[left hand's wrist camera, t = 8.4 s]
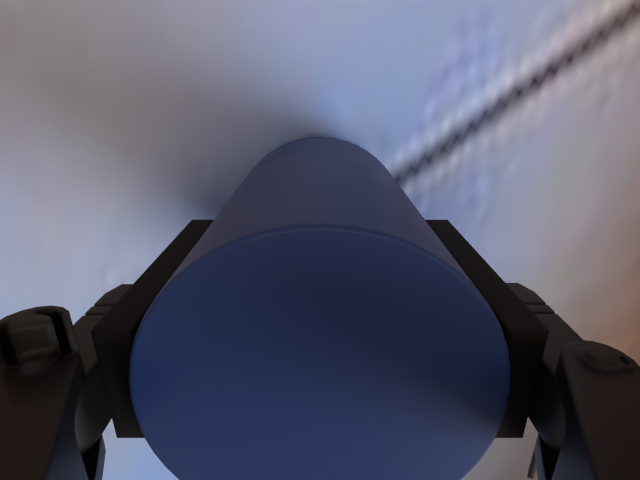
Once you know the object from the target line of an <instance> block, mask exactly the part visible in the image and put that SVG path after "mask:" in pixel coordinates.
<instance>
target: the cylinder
mask: <svg viewBox="0 0 640 480" xmlns="http://www.w3.org/2000/svg"><path fill="white" fill-rule="evenodd" d="M510 379H511V366H510V360H509V353H508V347H507V343H506V340H505V337H504V334H503V331H502V328H501V326H500V324H499V322H498V320H497V318H496V316H495V314H494V312H493V311H492V309H491V307H490V305H489V304H488V303H487V301H486V300H485V299H484V297H483V296H482V295H481V293H480V292H479V291H478V289H477V288H476V287H475V285H474V284H473V283H472V281H471V280H470V279H469V277H468V276H467V275H466V274H465V272H464V271H463V270H462V268H461V267H460V266H459V264H458V263H457V262H456V260H455V259H454V258H453V256H452V255H451V254H450V252H449V251H448V250H447V248H446V247H445V246H444V244H443V243H442V242H441V240H440V239H439V238H438V236H437V235H436V234H435V233H434V231H433V230H432V229H431V227H430V226H429V225H428V223H427V222H426V221H425V219H424V218H423V217H422V215H421V214H420V213H419V211H418V210H417V209H416V207H415V206H414V205H413V203H412V202H411V201H410V199H409V198H408V197H407V195H406V194H405V193H404V192H403V190H402V189H401V188H400V186H399V185H398V184H397V182H396V181H395V180H394V178H393V177H392V176H391V174H390V173H389V172H388V170H387V169H386V168H385V166H384V165H383V164H382V163H381V162H380V161H379V160H378V159H377V158H375V157H374V156H373V155H371V154H370V153H369V152H367V151H366V150H364V149H362V148H360V147H359V146H357V145H354V144H351V143H349V142H346V141H342V140H338V139H333V138H307V139H301V140H297V141H294V142H291V143H288V144H286V145H284V146H281V147H279V148H277V149H276V150H274V151H273V152H271V153H270V154H268V155H267V156H266V157H265V158H263V159H262V160H261V161H260V162H259V163H258V164H257V165H256V166H255V168H254V169H253V170H252V171H251V172H250V174H249V175H248V176H247V178H246V179H245V180H244V182H243V183H242V184H241V186H240V187H239V188H238V189H237V191H236V192H235V193H234V195H233V196H232V197H231V199H230V200H229V201H228V203H227V204H226V205H225V207H224V208H223V209H222V211H221V212H220V213H219V214H218V216H217V217H216V218H215V220H214V221H213V222H212V224H211V225H210V226H209V228H208V229H207V230H206V232H205V233H204V234H203V235H202V237H201V238H200V239H199V241H198V242H197V243H196V245H195V246H194V247H193V249H192V250H191V251H190V253H189V254H188V255H187V257H186V258H185V259H184V260H183V262H182V263H181V264H180V266H179V267H178V268H177V270H176V271H175V272H174V274H173V275H172V276H171V278H170V279H169V280H168V282H167V283H166V284H165V285H164V287H163V288H162V289H161V291H160V292H159V293H158V295H157V296H156V298H155V299H154V301H153V302H152V304H151V305H150V307H149V308H148V310H147V311H146V313H145V315H144V316H143V319H142V321H141V323H140V326H139V328H138V330H137V332H136V335H135V338H134V342H133V346H132V351H131V355H130V365H129V388H130V398H131V402H132V406H133V410H134V414H135V417H136V420H137V422H138V424H139V427H140V429H141V431H142V434H143V436H144V437H145V439H146V440H147V442H148V444H149V445H150V447H151V449H152V450H153V452H154V453H155V454H156V455H157V457H158V458H159V459H160V460H161V462H162V463H163V464H164V465H165V466H166V468H168V469H169V470H170V471H171V472H172V473H173V474H174V475H175V476H176V477H177V478H178V479H179V480H460V479H461V478H463V477H464V476H465V475H466V474H467V473H468V472H469V471H470V470H471V469H472V468H473V467H474V466H475V465H476V463H477V462H478V461H479V460H480V459H481V458H482V456H483V455H484V453H485V452H486V451H487V449H488V448H489V447H490V445H491V444H492V442H493V440H494V438H495V436H496V434H497V432H498V430H499V429H500V426H501V424H502V421H503V418H504V415H505V412H506V409H507V405H508V399H509V394H510Z"/></svg>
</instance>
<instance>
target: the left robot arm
mask: <svg viewBox="0 0 640 480" xmlns="http://www.w3.org/2000/svg"><path fill="white" fill-rule="evenodd" d="M213 221H214V220H192V221H191V222H190V223H189V224H188V225H187V226H186V227H185V228H184V229H183V230H182V232H181V233H180V234H179V235H178V236H177V237H176V238H175V239H174V240H173V241H172V242H171V244H170V245H169V246H168V247H167V248H166V249H165V250H164V251H163V252H162V253H161V254H160V256H159V257H158V258H157V259H156V260H155V261H154V262H153V263H152V264H151V265H150V266H149V268H148V269H147V270H146V271H145V272H144V273H143V274H142V275H141V276H140V277H139V278H138V280H137V281H136V282H135V283H134V284H122V285H120V286H118V287H116V288H115V289H113V290H111V291H109V292H107V293H105V294H104V295H103V296H102V297H101V298H100V299H99V300H98V301H97V302H96V303H95V304H94V307H91V308H90V309H89V310H88V311H87V312H86V313H85V316H82V317H81V318H80V319H79V320H78V321H77V322H76V323H75V324H74V325H73V324H72V321H71V317H70V313H69V311H68V310H66V309H65V308H63V307H58V306H42V307H35V308H31V309H26V310H22V311H19V312H17V313H14V314H12V315H9V316H6V317H5V318H3V319H1V320H0V480H102V476H103V468H104V460H105V452H106V450H105V444H104V440H103V436H102V433H103V431H104V430H105V428H106V426H107V425H108V423H109V422H110V420H111V418H112V419H113V423H114V427H115V431H116V435H117V438H145V437H144V436H143V434H142V431H141V429H140V427H139V424H138V422H137V420H136V417H135V414H134V410H133V406H132V402H131V398H130V388H129V365H130V355H131V351H132V346H133V342H134V338H135V335H136V332H137V330H138V328H139V326H140V323H141V321H142V319H143V316H144V315H145V313H146V311H147V310H148V308H149V307H150V305H151V304H152V302H153V301H154V299H155V298H156V296H157V295H158V293H159V292H160V291H161V289H162V288H163V287H164V285H165V284H166V283H167V282H168V280H169V279H170V278H171V276H172V275H173V274H174V272H175V271H176V270H177V268H178V267H179V266H180V264H181V263H182V262H183V260H184V259H185V258H186V257H187V255H188V254H189V253H190V251H191V250H192V249H193V247H194V246H195V245H196V243H197V242H198V241H199V239H200V238H201V237H202V235H203V234H204V233H205V232H206V230H207V229H208V228H209V226H210V225H211V224H212V222H213ZM425 221H426V222H427V223H428V225H429V226H430V227H431V229H432V230H433V231H434V233H435V234H436V235H437V236H438V238H439V239H440V240H441V242H442V243H443V244H444V246H445V247H446V248H447V250H448V251H449V252H450V254H451V255H452V256H453V258H454V259H455V260H456V262H457V263H458V264H459V266H460V267H461V268H462V270H463V271H464V272H465V274H466V275H467V276H468V277H469V279H470V280H471V281H472V283H473V284H474V285H475V287H476V288H477V289H478V291H479V292H480V293H481V295H482V296H483V297H484V299H485V300H486V301H487V303H488V304H489V305H490V307H491V309H492V311H493V312H494V314H495V316H496V318H497V320H498V322H499V324H500V326H501V328H502V331H503V334H504V337H505V340H506V343H507V347H508V353H509V360H510V366H511V379H510V394H509V399H508V405H507V409H506V412H505V415H504V418H503V421H502V424H501V426H500V429H499V430H498V432H497V434H496V436H495V438H523V434H524V430H525V426H526V422H527V418H528V417H529V418H530V420H531V422H532V423H533V425H534V427H535V428H536V430H537V431H538V436H537V440H536V444H535V447H534V451H533V455H532V459H531V462H530V466H529V470H528V476H527V477H529V478H532V479H533V478H534V474H535V471H536V470H537V474H538V480H640V367H639V366H638V364H637V363H636V362H635V361H634V360H633V359H632V358H630V357H629V356H627V355H626V354H624V353H623V352H621V351H619V350H617V349H614V348H612V347H610V346H608V345H605V344H601V343H597V342H594V341H586V340H583V339H582V338H581V337H580V336H579V335H578V334H577V333H576V332H575V331H574V330H573V329H571V328H570V327H569V326H568V325H567V324H566V323H565V322H564V321H563V320H562V319H561V318H560V317H559V316H558V315H557V314H555V312H554V311H553V310H552V309H551V308H550V307H549V306H548V305H546V304H545V302H544V301H543V300H542V299H541V298H540V297H539V296H538V295H537V294H536V293H535V292H533V291H532V290H530V289H528V288H526V287H524V286H522V285H521V284H519V283H505V282H504V281H503V280H502V279H501V278H500V277H499V276H498V275H497V273H496V272H495V271H494V270H493V269H492V268H491V267H490V266H489V265H488V264H487V263H486V261H485V260H484V259H483V258H482V257H481V256H480V255H479V254H478V253H477V252H476V251H475V249H474V248H473V247H472V246H471V245H470V244H469V243H468V242H467V241H466V240H465V239H464V237H463V236H462V235H461V234H460V233H459V232H458V231H457V230H456V229H455V228H454V227H453V225H452V224H451V223H450V222H449V221H448V220H425Z"/></svg>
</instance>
